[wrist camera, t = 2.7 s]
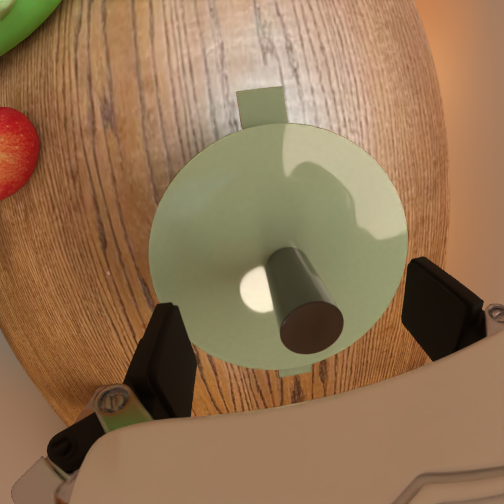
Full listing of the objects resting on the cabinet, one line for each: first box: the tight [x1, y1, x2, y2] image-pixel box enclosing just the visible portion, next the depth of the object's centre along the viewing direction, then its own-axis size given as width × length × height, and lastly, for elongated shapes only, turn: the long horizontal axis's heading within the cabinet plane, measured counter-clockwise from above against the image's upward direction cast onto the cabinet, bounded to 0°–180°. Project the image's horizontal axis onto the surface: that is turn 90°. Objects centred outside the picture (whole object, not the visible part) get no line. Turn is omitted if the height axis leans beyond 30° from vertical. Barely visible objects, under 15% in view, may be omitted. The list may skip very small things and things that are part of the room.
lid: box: [148, 123, 408, 370], centre depth 13 cm, size 15×15×7 cm
